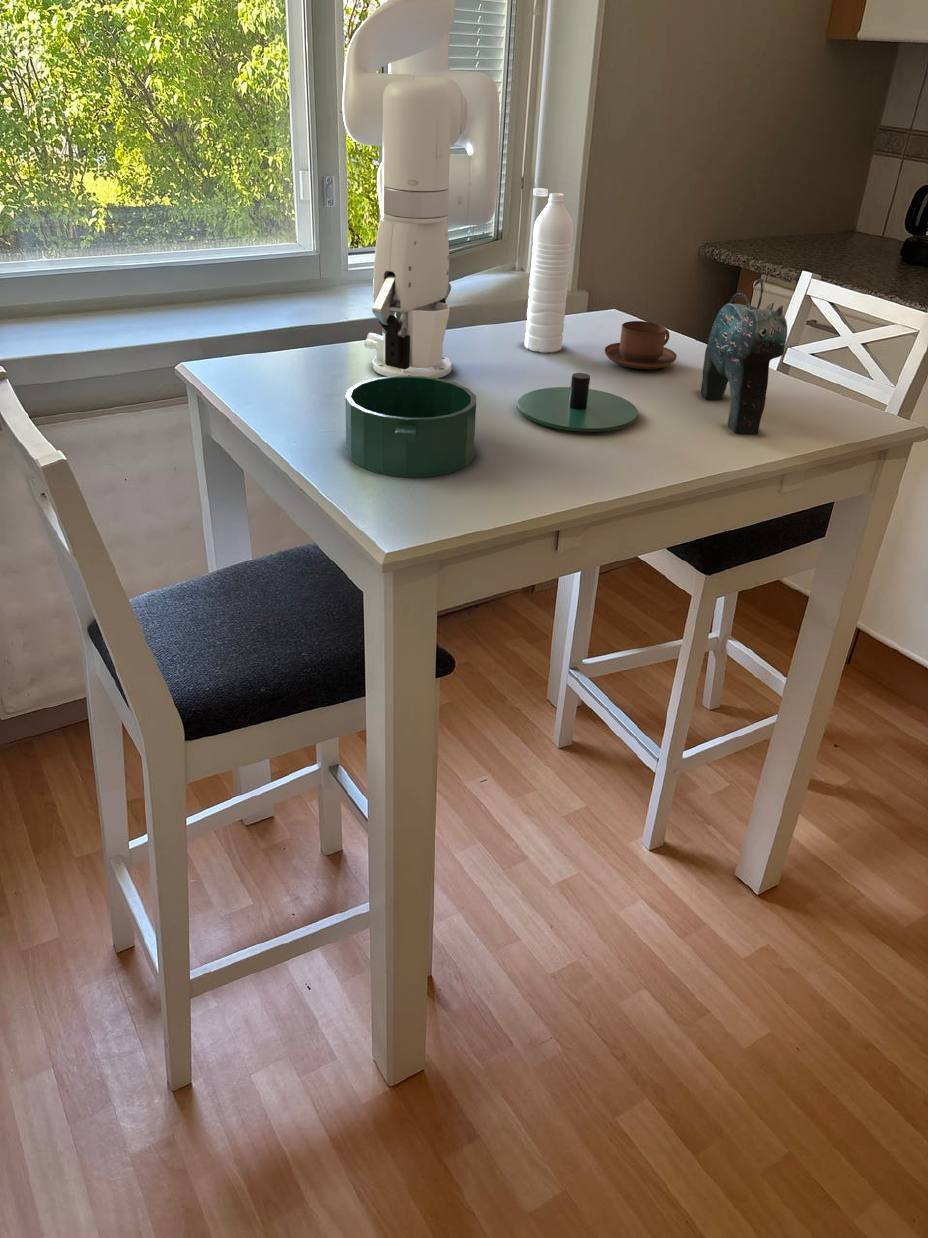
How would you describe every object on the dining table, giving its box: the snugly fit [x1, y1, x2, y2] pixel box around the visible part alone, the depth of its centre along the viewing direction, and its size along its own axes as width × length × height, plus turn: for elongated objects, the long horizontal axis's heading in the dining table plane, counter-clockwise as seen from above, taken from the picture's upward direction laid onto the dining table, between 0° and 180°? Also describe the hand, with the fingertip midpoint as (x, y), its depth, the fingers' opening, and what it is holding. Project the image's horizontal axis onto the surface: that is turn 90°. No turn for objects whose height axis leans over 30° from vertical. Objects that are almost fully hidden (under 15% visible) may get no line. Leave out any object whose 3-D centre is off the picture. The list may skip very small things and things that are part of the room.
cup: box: [395, 302, 451, 377], centre depth 120 cm, size 7×10×8 cm
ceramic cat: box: [700, 278, 788, 435], centre depth 140 cm, size 20×6×20 cm, turn 5°
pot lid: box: [517, 372, 639, 433], centre depth 141 cm, size 17×17×6 cm
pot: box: [344, 375, 477, 478], centre depth 126 cm, size 16×22×8 cm
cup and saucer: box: [604, 320, 678, 370], centre depth 164 cm, size 12×12×6 cm
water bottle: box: [524, 187, 574, 354], centre depth 165 cm, size 9×6×25 cm
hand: (412, 359), depth 121 cm, fingers closed on cup, 5 cm apart
